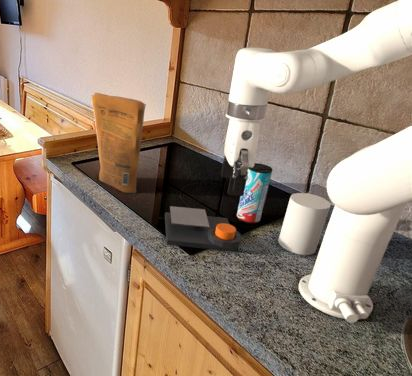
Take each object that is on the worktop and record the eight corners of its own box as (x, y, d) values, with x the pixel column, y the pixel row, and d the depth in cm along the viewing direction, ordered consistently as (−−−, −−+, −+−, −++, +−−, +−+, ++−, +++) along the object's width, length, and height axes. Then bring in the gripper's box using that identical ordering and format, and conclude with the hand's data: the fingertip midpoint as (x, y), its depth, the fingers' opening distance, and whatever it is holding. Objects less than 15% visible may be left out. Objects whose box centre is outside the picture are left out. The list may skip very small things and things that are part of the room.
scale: (241, 255, 93) (244, 244, 91) (166, 247, 95) (168, 236, 94) (230, 223, 106) (232, 212, 105) (164, 216, 108) (165, 206, 107)
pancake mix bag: (129, 199, 117) (137, 103, 106) (86, 177, 131) (89, 90, 119) (144, 193, 121) (154, 100, 110) (101, 172, 135) (106, 88, 123)
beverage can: (233, 213, 111) (244, 162, 105) (255, 214, 111) (268, 163, 104) (239, 224, 106) (251, 171, 99) (262, 225, 105) (276, 172, 99)
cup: (307, 237, 100) (320, 194, 95) (321, 256, 93) (337, 210, 88) (273, 235, 101) (285, 191, 96) (285, 253, 94) (298, 207, 89)
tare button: (236, 241, 93) (237, 233, 92) (216, 239, 94) (217, 231, 93) (232, 231, 97) (234, 224, 96) (213, 229, 98) (215, 222, 97)
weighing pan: (209, 228, 98) (209, 226, 97) (171, 224, 99) (171, 222, 99) (204, 210, 106) (205, 209, 105) (169, 207, 107) (169, 206, 107)
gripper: (276, 122, 76) (257, 204, 83) (255, 102, 91) (241, 172, 98) (234, 120, 77) (219, 201, 84) (220, 100, 92) (209, 170, 100)
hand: (231, 185), depth 91 cm, fingers open, 9 cm apart
